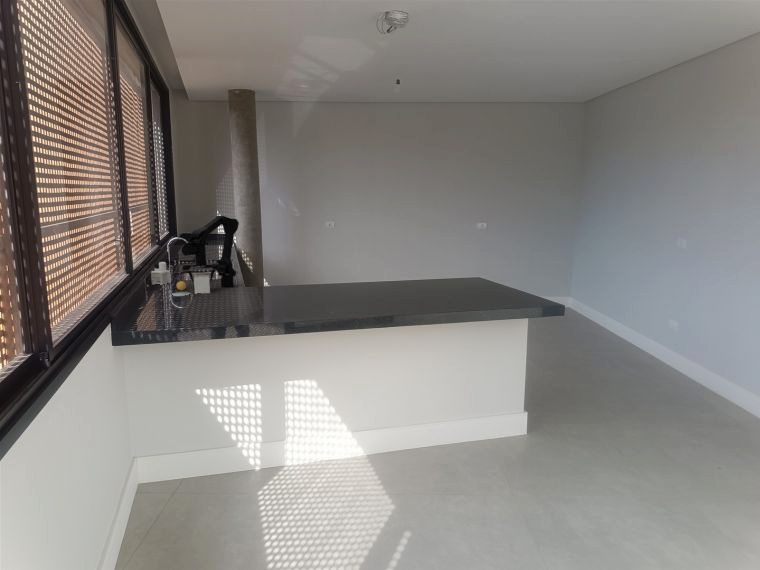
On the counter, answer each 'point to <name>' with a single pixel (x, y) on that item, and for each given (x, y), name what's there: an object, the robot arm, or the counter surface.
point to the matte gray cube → (201, 284)
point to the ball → (181, 285)
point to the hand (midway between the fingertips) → (202, 282)
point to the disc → (181, 293)
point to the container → (160, 274)
